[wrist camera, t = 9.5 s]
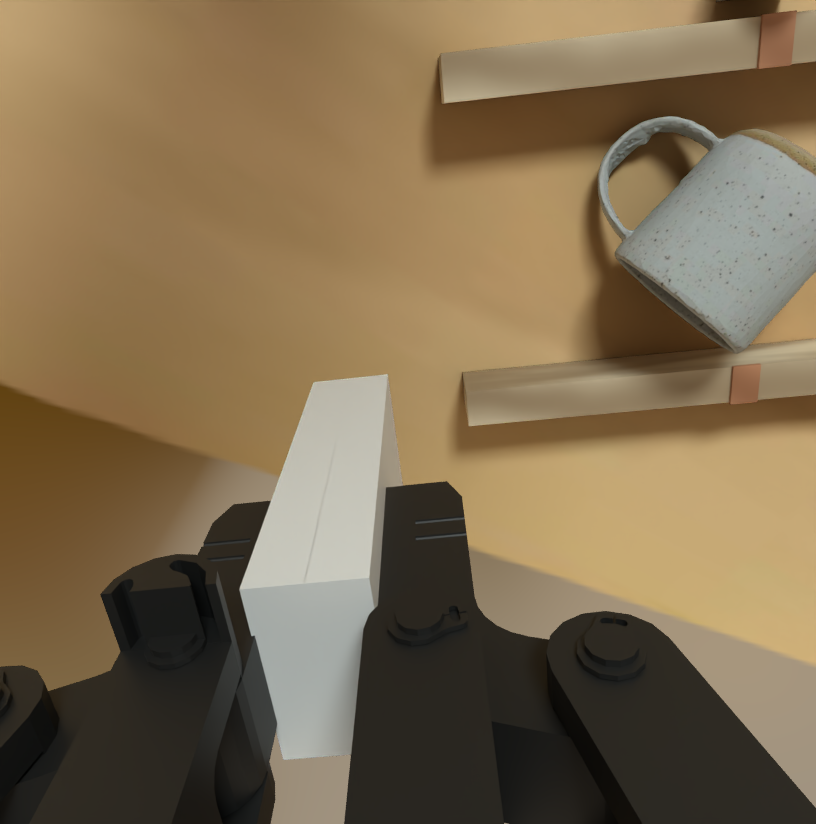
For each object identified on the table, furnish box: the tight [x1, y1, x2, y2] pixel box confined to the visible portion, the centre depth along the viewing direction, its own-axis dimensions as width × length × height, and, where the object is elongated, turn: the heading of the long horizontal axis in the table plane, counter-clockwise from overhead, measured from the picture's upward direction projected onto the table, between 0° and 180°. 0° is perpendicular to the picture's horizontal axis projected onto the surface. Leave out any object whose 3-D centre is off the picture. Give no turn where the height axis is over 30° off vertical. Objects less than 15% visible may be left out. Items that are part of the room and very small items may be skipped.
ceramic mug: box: [598, 116, 816, 354], centre depth 33 cm, size 11×8×8 cm
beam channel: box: [438, 0, 816, 426], centre depth 33 cm, size 22×23×5 cm
